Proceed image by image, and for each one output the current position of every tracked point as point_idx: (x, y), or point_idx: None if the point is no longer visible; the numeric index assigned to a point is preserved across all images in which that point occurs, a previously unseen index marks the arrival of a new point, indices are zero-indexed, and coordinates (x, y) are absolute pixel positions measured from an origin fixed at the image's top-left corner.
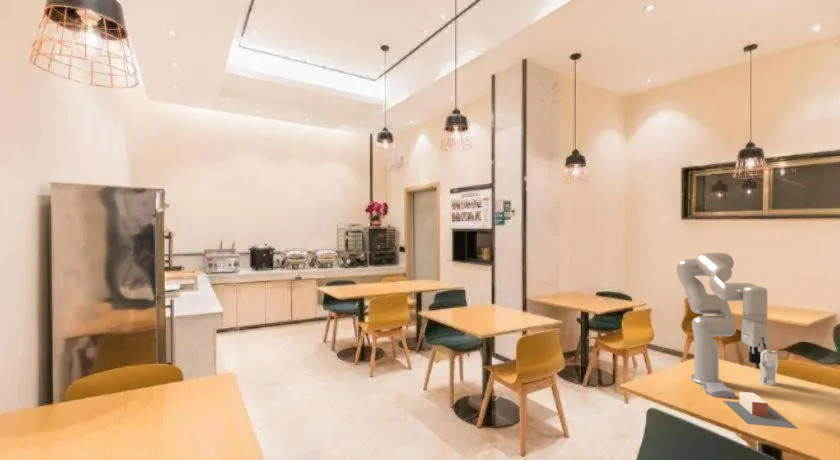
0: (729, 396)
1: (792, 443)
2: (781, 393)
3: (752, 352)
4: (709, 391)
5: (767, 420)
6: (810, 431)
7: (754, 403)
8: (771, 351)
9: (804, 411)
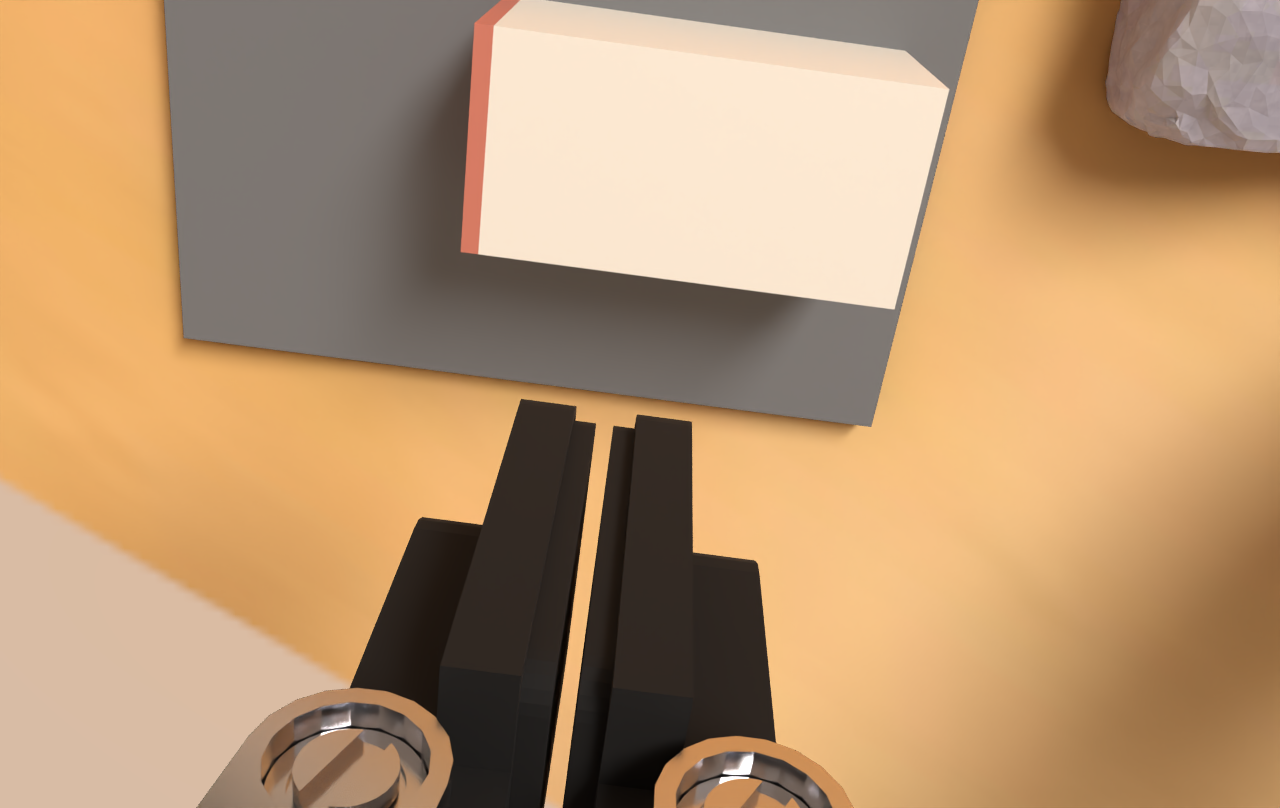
0: (1136, 22)
1: None
2: (1227, 795)
3: (420, 754)
4: None
5: (343, 95)
6: (217, 442)
7: (475, 52)
8: None
9: None
